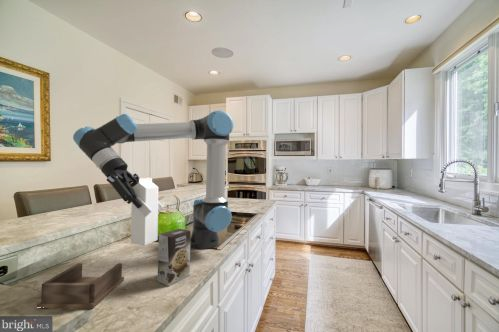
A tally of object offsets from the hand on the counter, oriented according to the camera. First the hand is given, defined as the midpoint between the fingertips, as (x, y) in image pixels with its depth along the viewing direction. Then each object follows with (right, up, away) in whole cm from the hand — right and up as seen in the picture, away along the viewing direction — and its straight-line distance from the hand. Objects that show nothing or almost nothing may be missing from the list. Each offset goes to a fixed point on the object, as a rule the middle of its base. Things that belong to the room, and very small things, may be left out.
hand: (154, 211), depth 74 cm
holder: (-18, -23, -8) cm, 30 cm away
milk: (-4, -11, 0) cm, 11 cm away
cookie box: (+6, -24, +1) cm, 25 cm away
